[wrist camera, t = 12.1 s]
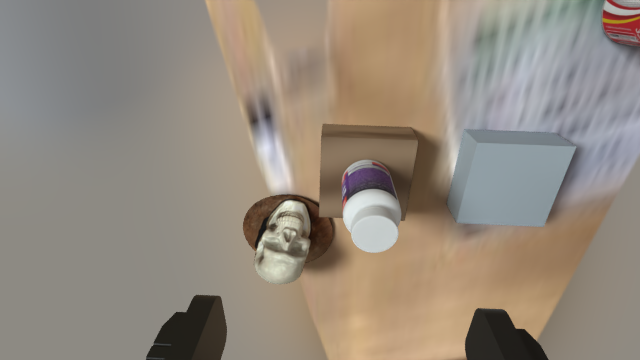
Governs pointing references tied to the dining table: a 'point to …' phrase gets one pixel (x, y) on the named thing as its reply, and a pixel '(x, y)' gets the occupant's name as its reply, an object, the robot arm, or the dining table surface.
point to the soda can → (622, 21)
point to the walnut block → (364, 144)
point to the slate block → (508, 177)
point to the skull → (285, 236)
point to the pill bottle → (370, 206)
